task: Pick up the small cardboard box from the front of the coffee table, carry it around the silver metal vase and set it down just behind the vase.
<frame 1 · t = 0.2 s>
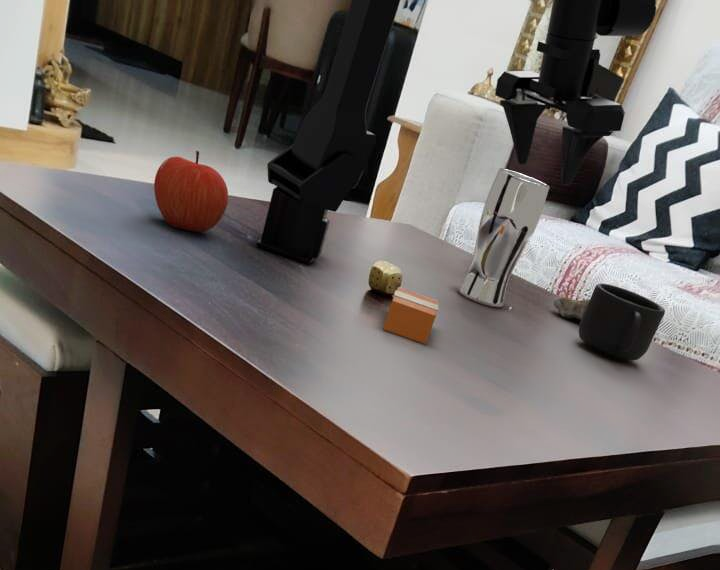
hand: (543, 174, 129), 15 cm above the table, tool pointing down, fingers open, 9 cm apart
silver metal vase: (479, 300, 128), on the table
apple: (183, 229, 110), on the table
rock: (589, 326, 136), on the table
mug: (607, 357, 123), on the table
small cardboard box: (406, 328, 103), on the table
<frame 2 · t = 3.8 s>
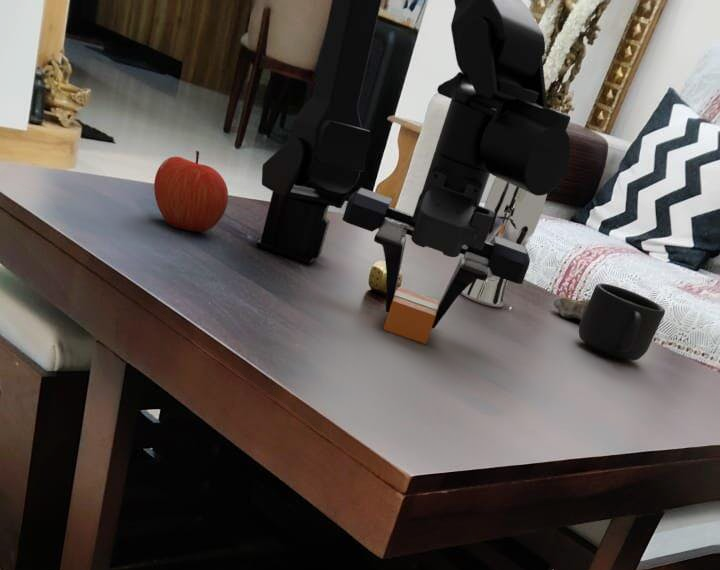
hand: (409, 319, 103), 1 cm above the table, tool pointing down, fingers closed on small cardboard box, 4 cm apart
small cardboard box: (406, 328, 103), on the table, touching gripper
everything else where it was.
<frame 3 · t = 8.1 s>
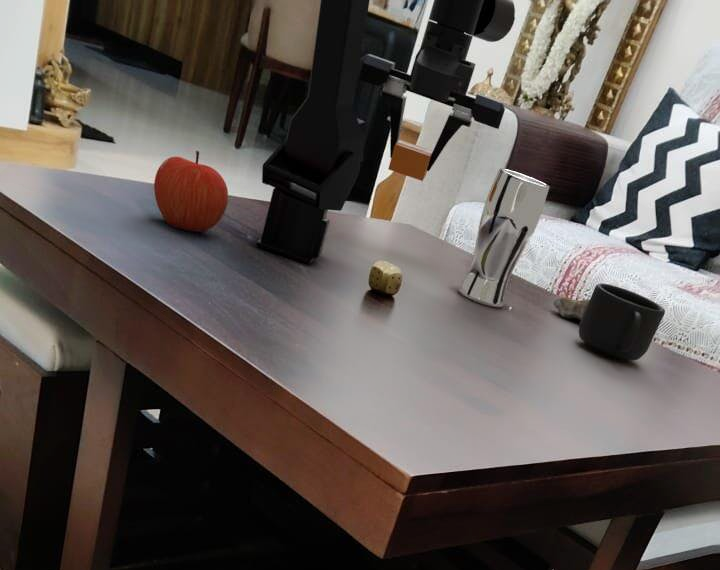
hand: (409, 164, 128), 11 cm above the table, tool pointing down, fingers closed on small cardboard box, 4 cm apart
small cardboard box: (407, 172, 128), point 10 cm above the table, touching gripper
everything else where it was.
when the fingers open (1 cm above the table, at t = 12.2 s): small cardboard box stays where it is, on the table.
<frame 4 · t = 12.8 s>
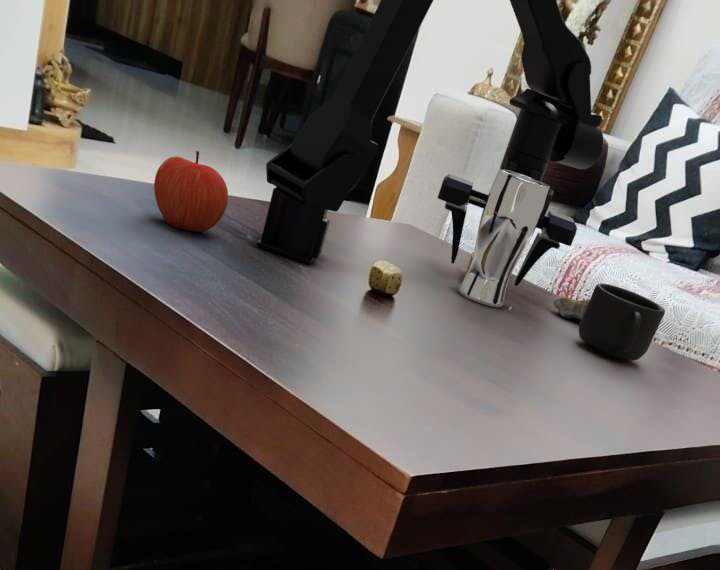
hand: (484, 274, 136), 1 cm above the table, tool pointing down, fingers open, 9 cm apart
small cardboard box: (480, 283, 137), on the table
everything else where it was.
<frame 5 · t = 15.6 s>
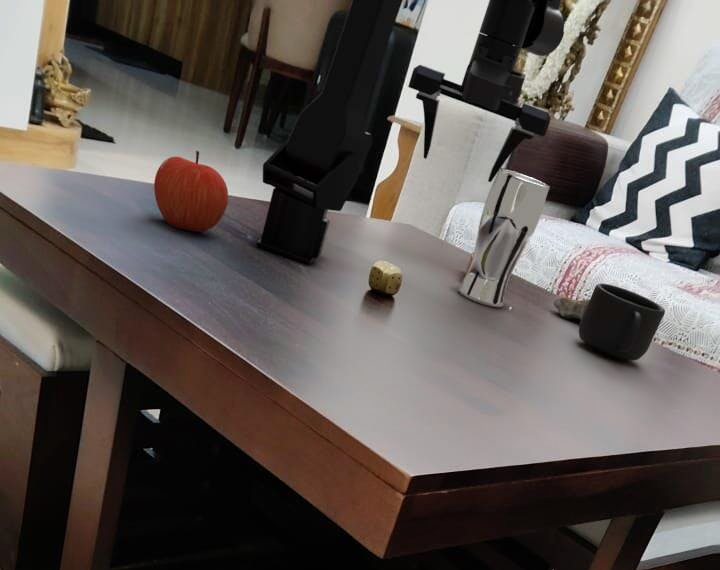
hand: (457, 169, 133), 12 cm above the table, tool pointing down, fingers open, 9 cm apart
nothing on the table moved.
at the end: small cardboard box inside the target area on the table beside the silver metal vase (0.0 cm from its centre), on the table; the gripper is holding nothing; silver metal vase moved 0.2 cm from its start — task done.
